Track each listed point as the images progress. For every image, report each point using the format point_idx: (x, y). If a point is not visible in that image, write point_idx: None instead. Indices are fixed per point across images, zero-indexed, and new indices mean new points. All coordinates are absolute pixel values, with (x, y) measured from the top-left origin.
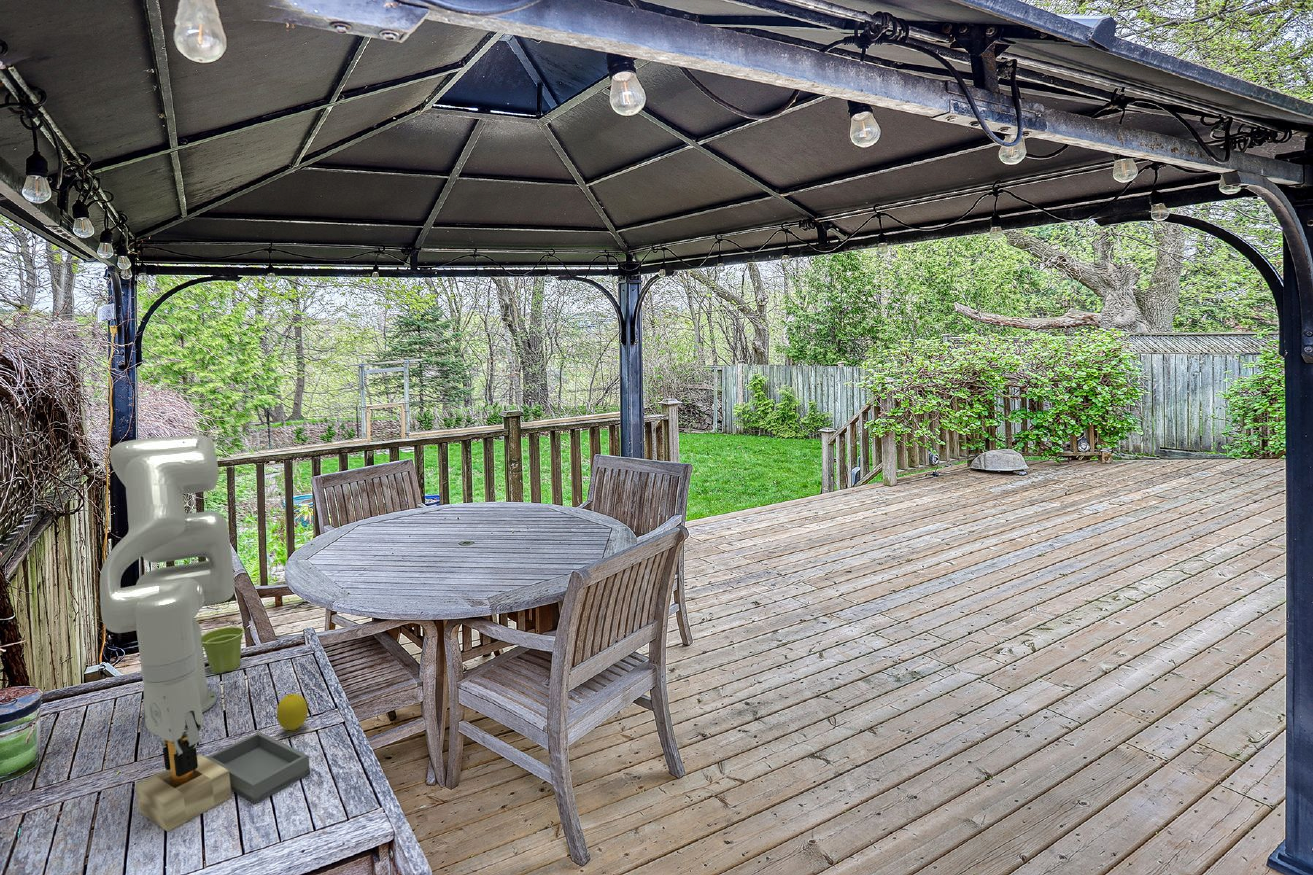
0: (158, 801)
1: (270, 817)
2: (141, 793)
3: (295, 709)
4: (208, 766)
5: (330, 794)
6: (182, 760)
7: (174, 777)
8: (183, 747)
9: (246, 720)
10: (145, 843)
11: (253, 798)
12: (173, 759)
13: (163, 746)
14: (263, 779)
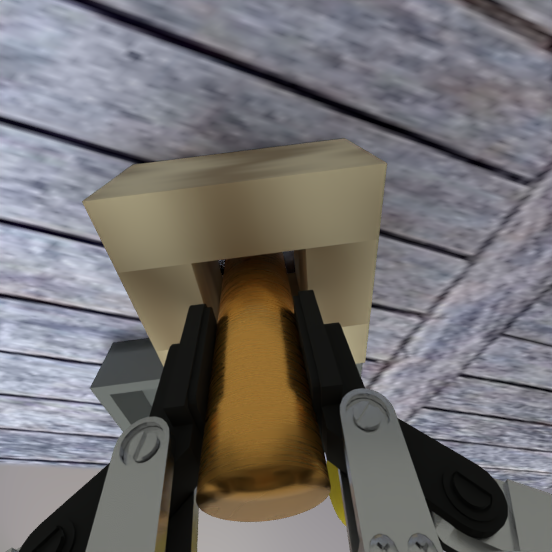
0: (145, 189)
1: (25, 347)
2: (322, 162)
3: (335, 504)
4: None
5: (47, 424)
6: (162, 387)
7: (238, 288)
8: (89, 503)
9: (475, 405)
10: (107, 84)
11: (112, 353)
12: (227, 362)
13: (353, 392)
14: (105, 405)
